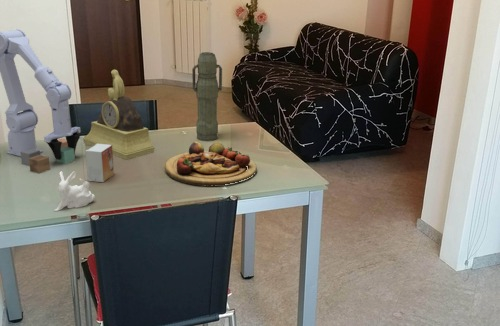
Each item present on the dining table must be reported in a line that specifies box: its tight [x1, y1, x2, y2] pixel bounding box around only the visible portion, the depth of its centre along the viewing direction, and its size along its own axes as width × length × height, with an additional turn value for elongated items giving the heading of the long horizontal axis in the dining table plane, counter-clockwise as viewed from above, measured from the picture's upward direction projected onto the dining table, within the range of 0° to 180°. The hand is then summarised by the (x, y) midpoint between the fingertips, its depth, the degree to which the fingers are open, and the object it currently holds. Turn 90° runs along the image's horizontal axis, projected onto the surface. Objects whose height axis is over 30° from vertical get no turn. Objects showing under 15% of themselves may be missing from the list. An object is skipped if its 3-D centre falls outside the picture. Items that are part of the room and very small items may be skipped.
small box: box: [85, 144, 115, 183], centre depth 166 cm, size 8×6×10 cm
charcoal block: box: [20, 148, 41, 167], centre depth 178 cm, size 4×4×4 cm
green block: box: [55, 146, 76, 165], centre depth 181 cm, size 4×4×4 cm
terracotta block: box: [57, 138, 68, 147], centre depth 189 cm, size 4×4×4 cm
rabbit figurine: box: [53, 170, 96, 212], centre depth 147 cm, size 12×8×10 cm, turn 117°
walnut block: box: [29, 154, 51, 174], centre depth 172 cm, size 4×4×4 cm
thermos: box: [191, 51, 223, 142], centre depth 206 cm, size 9×12×35 cm
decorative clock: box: [82, 69, 155, 161], centre depth 192 cm, size 28×13×30 cm, turn 49°
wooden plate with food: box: [164, 141, 258, 187], centre depth 177 cm, size 32×32×8 cm
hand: (65, 156), depth 181 cm, fingers open, 6 cm apart
